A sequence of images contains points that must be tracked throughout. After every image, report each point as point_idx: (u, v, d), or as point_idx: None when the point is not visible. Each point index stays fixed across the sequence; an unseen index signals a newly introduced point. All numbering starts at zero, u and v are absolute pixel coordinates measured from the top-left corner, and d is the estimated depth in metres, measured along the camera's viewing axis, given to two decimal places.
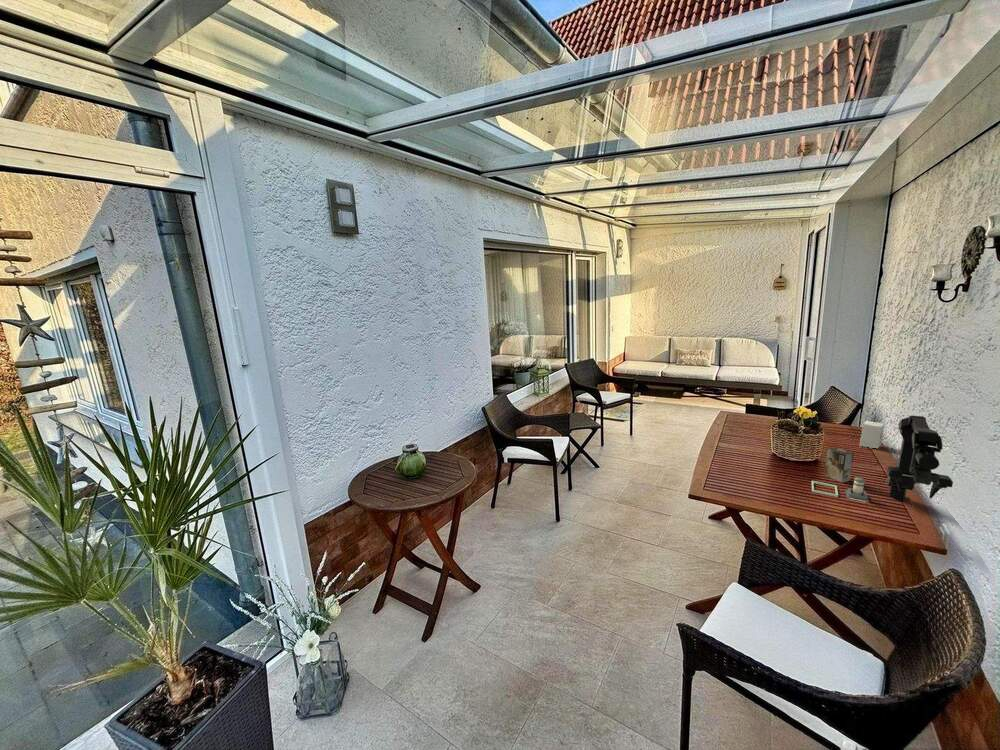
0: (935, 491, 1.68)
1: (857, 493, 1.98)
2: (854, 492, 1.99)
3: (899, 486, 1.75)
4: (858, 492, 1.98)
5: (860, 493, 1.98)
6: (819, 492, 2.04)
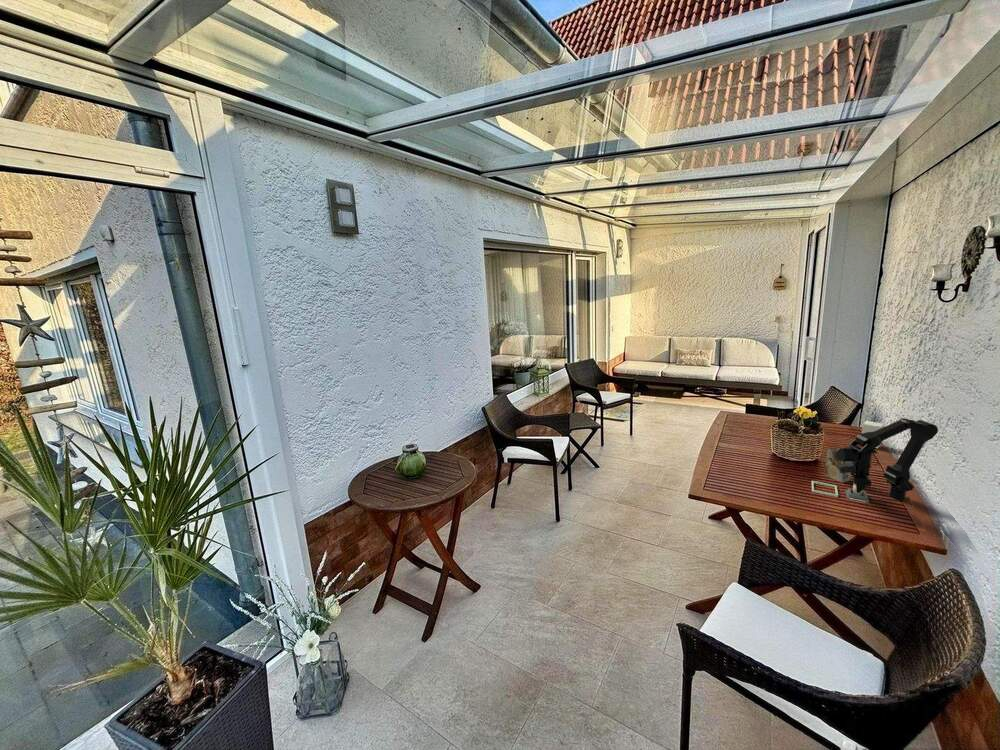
0: (856, 485, 1.97)
1: (857, 493, 1.98)
2: (854, 492, 1.99)
3: None
4: None
5: (860, 493, 1.98)
6: (819, 492, 2.04)
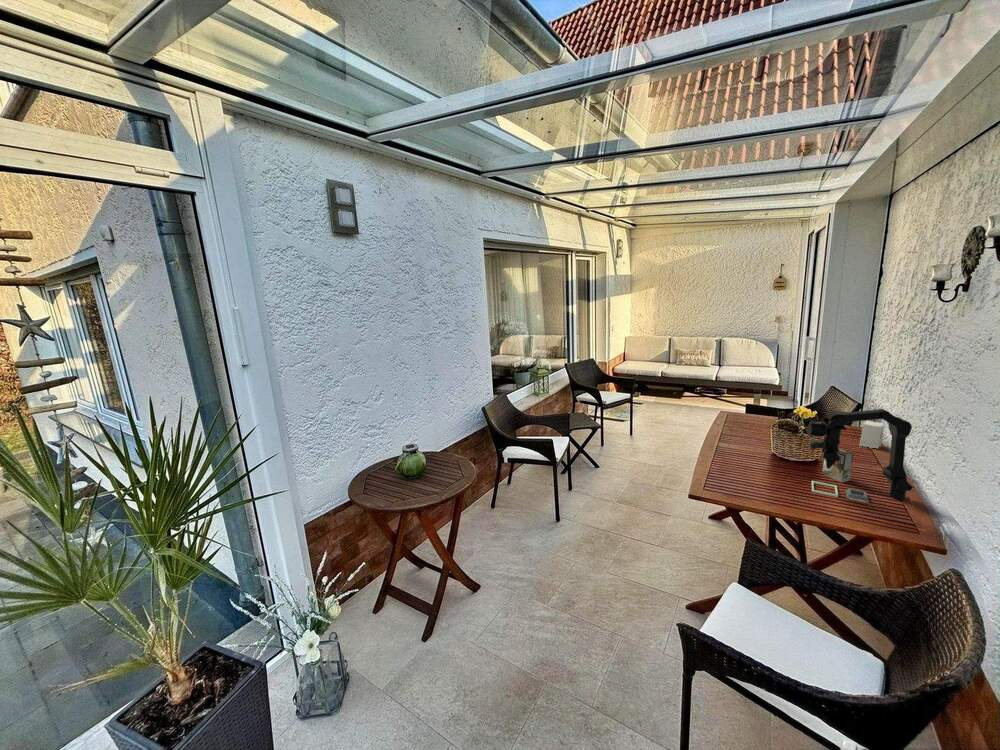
0: (826, 461, 2.02)
1: (827, 469, 2.03)
2: (824, 468, 2.04)
3: None
4: None
5: (830, 468, 2.03)
6: (819, 492, 2.04)
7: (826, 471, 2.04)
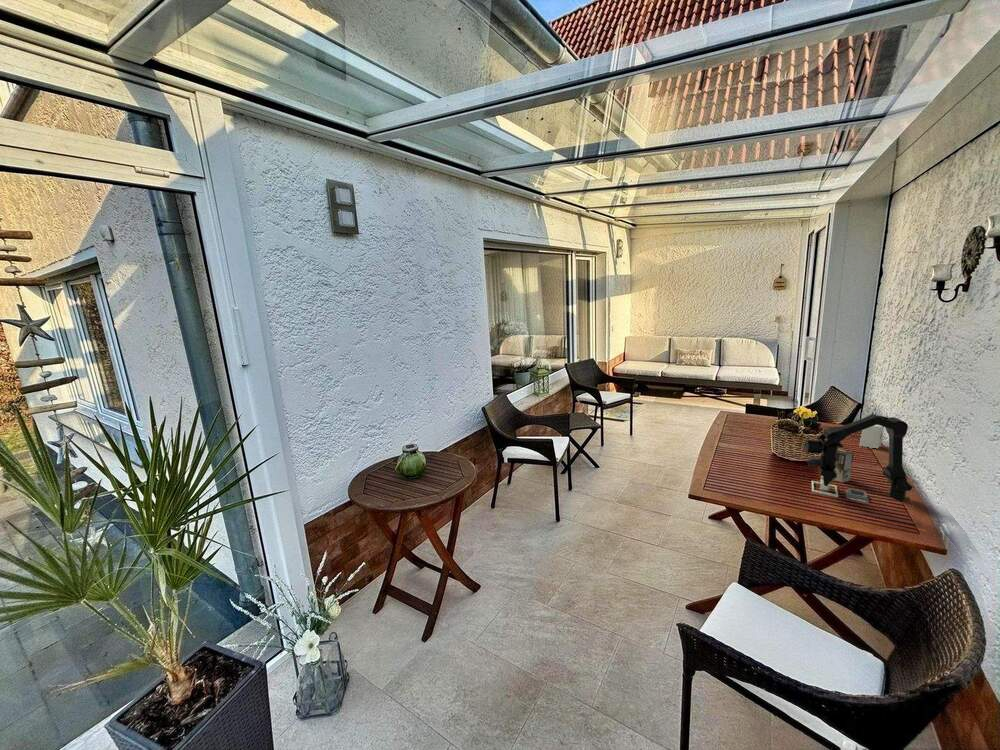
0: (823, 478, 2.03)
1: (824, 487, 2.05)
2: (821, 486, 2.06)
3: None
4: (824, 486, 2.05)
5: (827, 487, 2.05)
6: (819, 492, 2.04)
7: (823, 489, 2.06)
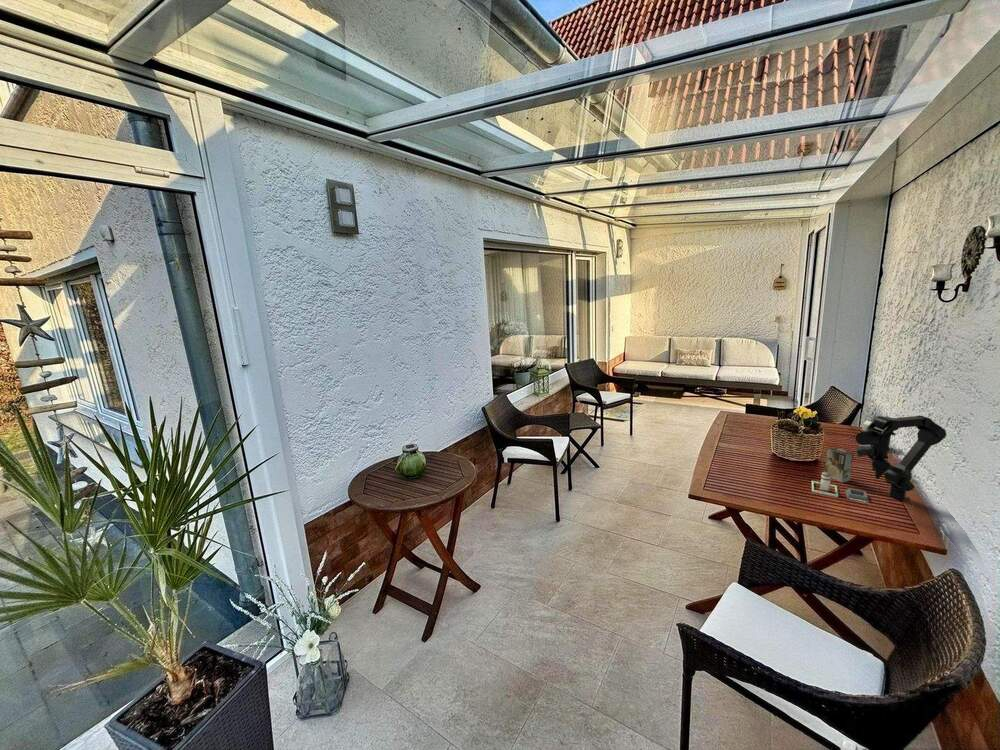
0: (875, 471, 1.91)
1: (824, 487, 2.05)
2: (821, 486, 2.06)
3: None
4: (825, 486, 2.05)
5: (827, 487, 2.05)
6: (819, 492, 2.04)
7: (823, 489, 2.06)
